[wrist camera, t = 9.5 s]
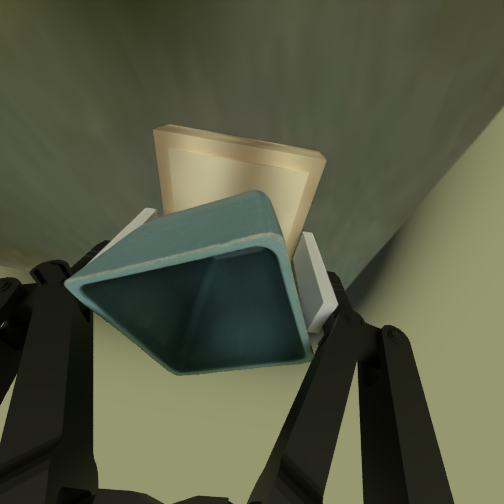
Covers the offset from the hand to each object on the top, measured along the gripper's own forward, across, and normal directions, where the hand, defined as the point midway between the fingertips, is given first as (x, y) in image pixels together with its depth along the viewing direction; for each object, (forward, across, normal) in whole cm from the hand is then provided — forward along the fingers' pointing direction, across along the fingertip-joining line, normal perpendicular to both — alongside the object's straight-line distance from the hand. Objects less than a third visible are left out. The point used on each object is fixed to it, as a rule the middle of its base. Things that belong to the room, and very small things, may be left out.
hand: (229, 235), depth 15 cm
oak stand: (+5, 0, 0) cm, 5 cm away
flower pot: (+1, 0, 0) cm, 1 cm away
